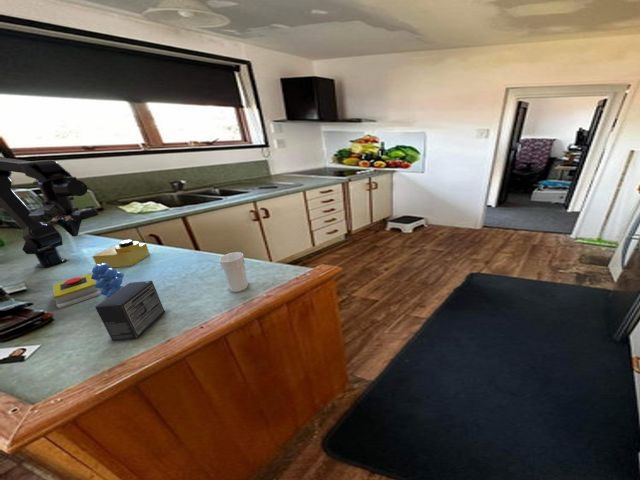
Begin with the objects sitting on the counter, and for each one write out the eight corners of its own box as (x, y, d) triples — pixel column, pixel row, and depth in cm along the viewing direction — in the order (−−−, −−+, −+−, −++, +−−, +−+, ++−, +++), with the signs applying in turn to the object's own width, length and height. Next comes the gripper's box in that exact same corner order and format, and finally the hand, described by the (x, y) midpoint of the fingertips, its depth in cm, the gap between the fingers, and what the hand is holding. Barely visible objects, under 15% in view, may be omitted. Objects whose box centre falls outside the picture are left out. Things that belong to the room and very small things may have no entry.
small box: (142, 313, 76) (128, 281, 73) (166, 311, 77) (154, 279, 73) (109, 341, 66) (92, 306, 63) (137, 339, 67) (122, 303, 63)
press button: (117, 248, 104) (115, 244, 104) (125, 244, 108) (124, 240, 107) (128, 247, 104) (126, 243, 104) (136, 243, 108) (134, 239, 108)
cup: (254, 283, 89) (248, 253, 85) (238, 294, 83) (230, 263, 79) (239, 280, 91) (232, 251, 87) (222, 291, 85) (213, 260, 82)
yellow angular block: (97, 268, 103) (90, 252, 101) (119, 256, 112) (113, 241, 110) (132, 266, 104) (125, 249, 102) (151, 254, 113) (145, 239, 111)
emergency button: (90, 268, 94) (95, 282, 85) (96, 279, 95) (101, 294, 86) (50, 279, 87) (50, 296, 78) (56, 291, 89) (57, 309, 80)
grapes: (142, 292, 86) (129, 259, 82) (117, 305, 80) (101, 269, 76) (119, 286, 90) (105, 254, 86) (93, 298, 84) (77, 264, 80)
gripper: (1, 203, 90) (24, 246, 95) (57, 201, 90) (77, 244, 95) (41, 195, 100) (60, 234, 106) (91, 193, 100) (107, 232, 106)
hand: (75, 236), depth 103 cm, fingers closed
